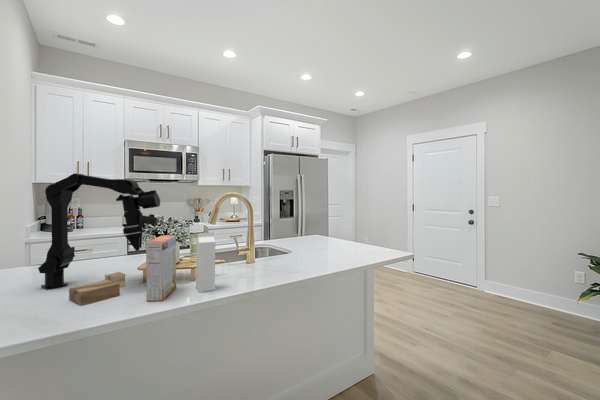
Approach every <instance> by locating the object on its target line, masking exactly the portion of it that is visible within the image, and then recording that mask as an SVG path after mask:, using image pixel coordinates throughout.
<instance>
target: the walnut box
mask: <svg viewBox="0 0 600 400" xmlns="http://www.w3.org/2000/svg"><path fill="white" fill-rule="evenodd" d="M120 288H121V287H120V284H118V283H115V282H112V281H109V280H105V279H104V280H100V281H94V282H90V283H89V282H88V283H86V284H82V285H77V286H72V287H70V288H68V300H69V301H70V302H72V303H74V304H76V305H79V306H86V305H90V304H92V303H96V302H100V301H104V300H107V299H111V298H114V297H118V296H120V294H121V293H120V290H121V289H120Z"/></svg>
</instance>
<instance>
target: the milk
mask: <svg viewBox="0 0 600 400" xmlns="http://www.w3.org/2000/svg"><path fill="white" fill-rule="evenodd" d="M214 236H215V235H214V232H199V233H197V239H196V243H195V245H196V248H195V250H196V252H195V253H196V256H195V257H196V258H195V260H196V261H195V289H196V290H197V292H198V293H199V294H200V293H206V292H213V291H215V290H216V289H215V288H216V286H215V285H216V284H215V283H216V239H215V237H214Z"/></svg>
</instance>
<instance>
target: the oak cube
mask: <svg viewBox="0 0 600 400" xmlns="http://www.w3.org/2000/svg"><path fill="white" fill-rule="evenodd" d="M104 280H109V281H112V282H115V283H118V284H120V288H124V287H126V273H124V272H121V271H116V272H112V273H106V274H105V275H104Z"/></svg>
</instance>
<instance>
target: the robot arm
mask: <svg viewBox="0 0 600 400" xmlns="http://www.w3.org/2000/svg"><path fill="white" fill-rule="evenodd" d="M82 185H84V186H91V187H98V188H103V189H109V190H112V191H114V192H116V193H120V194H119V195H118V197H117V198H116V199H115V202H122V207H123V209H122V210H123V217H124V219H125V227H124V228H123V229H122V231H123V235H124V237H125V238H126V239H127V241H128V242H129V243H130V245H131V246H132V248H134V250H135V251H136V252H139V251H140V249H141V248H142V245H143V244H142V243H143V242H142V241H143V234H144V232H145V231H146V230H147V226H146V225H151V226H157V222H158V217H156V215H155V214H151V213H150V214H149V215H143V212H141V208H142V209H144V210H145V209H152V208H159V207H160V206H161V198H160V196H159V194H158V193H157V190H155V189H154V190H152V189H151V190H149V191H144V190H143V189H142V188H141V187H140V186H139V183H138V182H137V181H136V180H134V179H128V178H126V179H125V178H123V179H121V178H118V179H117V178H116V179H115V178H114V179H112V178H104V177H99V176H91V175H86V174H82V173H72V174H71V175H69V176H67V177H65V178H63V179H61V180H59V181H57V182H55V183H51V184H49V185H48V186H46V188H45V190H44V193H45V198H46V199H45V200H46V202H47V203H48V204H49V206H50V208H51V210H50V211H51V244H50V247H49V249H48V251H47V253H46V258H45V261H44V262H43V263H42V264H41V265H40V266H39V267H38V268H37V269H38V272H39V274H44V284H41V285H40V287H41V288H44V289H45V290H51V289H56V288H61V287H66V286H68V283H67V282H65V279H64V278H65V269H68V268H69V265H70V264H71V263H72V262H73V260H74V258H75V257H76V255H75V250H76V249H75V246H70V244H69V242H68V241H69V240H68V239H69V234H68V233H69V232H68V230H69V229H68V228H69V227H68V224H69V223H68V221H69V220H68V219H69V218H68V207H69V205H70V204H71V202H72V199H73V193H75V192H77V191H78V190H79V189H80V188H81V186H82ZM127 194H128V195H127ZM134 196H135V197H134Z"/></svg>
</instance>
